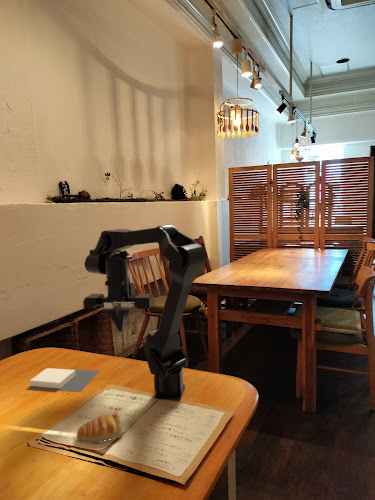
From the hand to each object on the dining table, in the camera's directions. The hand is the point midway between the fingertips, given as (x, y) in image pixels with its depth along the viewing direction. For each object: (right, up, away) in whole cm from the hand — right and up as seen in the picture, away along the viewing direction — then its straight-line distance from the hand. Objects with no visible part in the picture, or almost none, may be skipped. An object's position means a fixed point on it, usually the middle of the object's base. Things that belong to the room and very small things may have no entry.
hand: (121, 331), depth 102 cm
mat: (-15, -14, 0) cm, 21 cm away
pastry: (+1, -17, -24) cm, 29 cm away
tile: (-14, -13, -2) cm, 19 cm away
